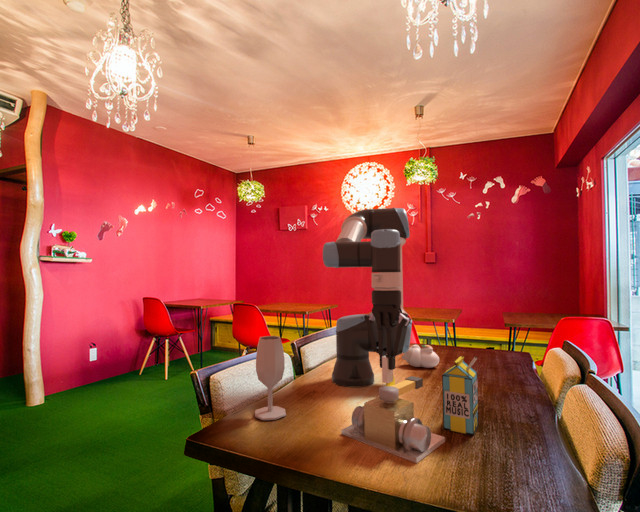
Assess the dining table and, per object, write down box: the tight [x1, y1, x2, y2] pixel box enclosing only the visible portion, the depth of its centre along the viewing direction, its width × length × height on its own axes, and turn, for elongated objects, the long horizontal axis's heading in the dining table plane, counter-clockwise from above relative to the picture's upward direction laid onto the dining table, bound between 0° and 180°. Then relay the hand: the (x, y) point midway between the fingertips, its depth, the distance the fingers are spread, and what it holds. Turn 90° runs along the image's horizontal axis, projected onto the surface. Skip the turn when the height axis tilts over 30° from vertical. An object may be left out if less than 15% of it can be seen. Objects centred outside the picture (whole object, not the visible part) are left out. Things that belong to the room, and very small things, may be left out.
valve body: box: [340, 396, 446, 464], centre depth 87 cm, size 20×13×10 cm, turn 46°
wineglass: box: [254, 335, 287, 421], centre depth 101 cm, size 9×9×21 cm
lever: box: [378, 375, 424, 401], centre depth 88 cm, size 15×4×2 cm, turn 136°
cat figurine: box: [401, 344, 440, 369], centre depth 151 cm, size 10×8×15 cm
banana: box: [385, 374, 396, 386], centre depth 112 cm, size 3×19×6 cm, turn 163°
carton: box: [441, 356, 479, 437], centre depth 92 cm, size 7×8×18 cm
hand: (387, 381), depth 94 cm, fingers closed
